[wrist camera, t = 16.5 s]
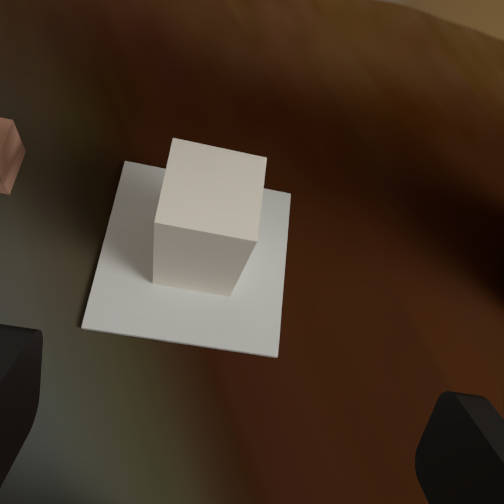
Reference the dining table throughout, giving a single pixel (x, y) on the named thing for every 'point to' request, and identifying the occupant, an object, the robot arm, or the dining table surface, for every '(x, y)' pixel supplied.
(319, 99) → the dining table surface
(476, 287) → the dining table surface
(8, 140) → the terracotta block
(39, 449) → the dining table surface
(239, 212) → the beige block
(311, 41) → the dining table surface
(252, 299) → the mat
